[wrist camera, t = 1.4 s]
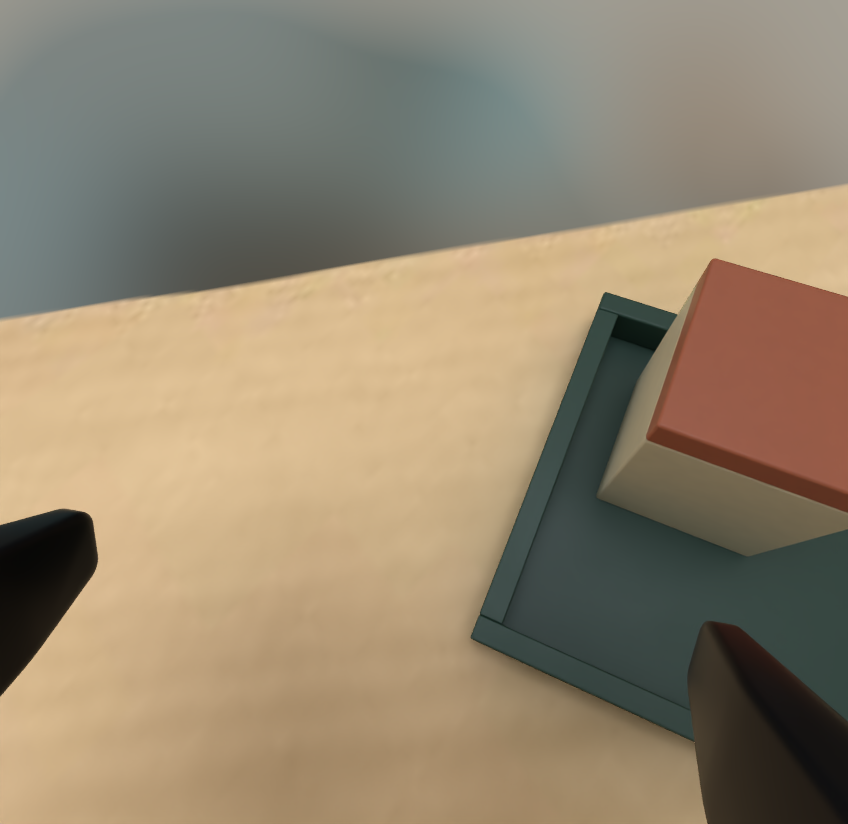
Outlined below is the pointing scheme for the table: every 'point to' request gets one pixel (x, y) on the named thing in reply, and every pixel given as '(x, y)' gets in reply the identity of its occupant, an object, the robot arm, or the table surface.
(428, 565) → the table surface
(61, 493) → the table surface
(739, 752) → the robot arm
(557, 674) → the tray
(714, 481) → the carton
